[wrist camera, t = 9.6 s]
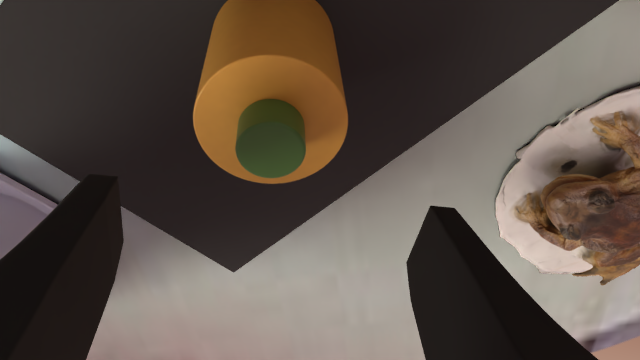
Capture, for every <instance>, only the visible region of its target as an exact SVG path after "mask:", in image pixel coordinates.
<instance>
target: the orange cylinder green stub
mask: <svg viewBox="0 0 640 360" xmlns="http://www.w3.org/2000/svg"><path fill="white" fill-rule="evenodd" d="M193 125H194V129H195V133H196V136H197V139H198V141H199V143H200V145H201V147H202V148H203V150H204V151H205V153H206V154H207V155H208V156H209V157H210V159H211V160H212V161H213V162H214V163H216V164H217V165H218V166H219V167H221V168H222V169H224V170H225V171H227V172H228V173H230V174H232V175H235V176H237V177H239V178H242V179H245V180H248V181H253V182H258V183H268V184H277V183H286V182H292V181H296V180H300V179H302V178H305V177H308V176H310V175H312V174H314V173H315V172H317V171H319V170H320V169H322V168H323V167H324V166H325V165H327V164H328V163H329V162H330V161H331V160H332V159H333V158H334V157H335V155H336V154H337V152H338V151H339V150H340V148H341V146H342V144H343V142H344V139H345V136H346V133H347V128H348V112H347V106H346V100H345V95H344V89H343V83H342V78H341V72H340V66H339V61H338V55H337V49H336V44H335V38H334V32H333V28H332V25H331V22H330V20H329V18H328V16H327V14H326V12H325V11H324V9H323V8H322V7H321V6H320V4H319V3H318V2H317V1H315V0H228V1H227V2H226V3H225V4H224V5H223V6H222V8H221V9H220V11H219V12H218V14H217V16H216V19H215V21H214V24H213V28H212V32H211V36H210V41H209V45H208V49H207V53H206V58H205V62H204V66H203V71H202V75H201V79H200V83H199V88H198V92H197V96H196V100H195V105H194V111H193Z"/></svg>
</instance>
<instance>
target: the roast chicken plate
mask: <svg viewBox="0 0 640 360" xmlns="http://www.w3.org/2000/svg"><path fill="white" fill-rule="evenodd" d="M586 107H587V106H586ZM583 108H584V107H583ZM579 109H581V108H578V109H576V110H574V111H573V113H571V114H570V115H569V116H567V117H565V118H564V119H566V118H568V119H567V120H565V121H563V120H564V119H563V120H562V121H563V122H562V121H560V122H559V124H558V125H557V126H554V127H552V126H549V125H548V126H547V127H545V128H544V129H543V130H542V131H541V132H540V133H539V134H538V135H537V136H536V138H535V139H534V140H533V141H532V142H531V143H530V144H529V145H527V146H525V147H523V148H522V149H521V150H519V151H517V153H516V157H517V158H518V159H520V161H519V162H518V163H517V164H515V165H514V167H513V168H512V169H511V170H510V172H509V173H508V174H507V175H506V177H505V179H504V180H503V182H502V183H503V184H502V186H501V189H500V192H499V194H498V195H497V198H496V201H495V204H496V205H495V206H496V212H495V213H496V219H497V221H498V227H499V232H500V237H501V238H504V239H505V240H506V241H507V242H508V243H510V244H511V245H513V246H514V247H515V248H516V249H517V250H518V252H519V254H520V256H521V257H522V258H524V259H527V260H528V261H529V262H531V263H532V264H534V265H535V267H537V269H538V270H539V273H542V274H545V273H551V274H569V273H575V272H582V273H575V274H572V275H574V276H590V275H599V276H602V277H603V280H602V281H601V282H600V283H601V285H605V284H606V283H608V282H609V281H611V280H613V279H615V278H617V277H618V276H621V275H623V274H625V273H627V272H629V271H630V270H632V269H633V268H636V267H637V266H639V265H640V86H638V87H634V88H631V89H628V90H624V91H622V92H620V93H618V94H613V95H611V96H608V97H607V98H605V99H602V100H600V101H598V102H597V103H594V104H592V105H590V106H589V107H587V108H585V109H582V110H581V111H579V112H578V113H576V111H577V110H579ZM561 122H562V123H561Z"/></svg>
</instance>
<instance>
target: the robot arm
mask: <svg viewBox="0 0 640 360" xmlns="http://www.w3.org/2000/svg"><path fill="white" fill-rule="evenodd" d="M122 246H123V229H122V217H121V206H120V194H119V182H118V176H107V175H97V174H88V175H87V176H85V177H84V178H83V179H82V180H81V181H80V182H79V183H78V184H77V185H76V186H75V188H74V189H73V190H72V191H71V192H70V193H69V194H68V195H67V196H66V197H65V198H64V199H63V200H62V201H61V202H60V203H59V204H56V203H54V202H52V201H50V200H49V199H47V198H45V197H43V196H41V195H40V194H38V193H36V192H34V191H32V190H31V189H29V188H27V187H25V186H23V185H22V184H20V183H18V182H16V181H14V180H13V179H11V178H9V177H7V176H5V175H4V174H2V173H0V360H86V358H87V355H88V353H89V350H90V347H91V344H92V342H93V339H94V336H95V333H96V331H97V328H98V325H99V323H100V320H101V317H102V314H103V312H104V309H105V306H106V303H107V301H108V298H109V295H110V292H111V289H112V287H113V284H114V281H115V276H116V272H117V268H118V264H119V259H120V255H121V250H122ZM407 272H408V281H409V289H410V297H411V303H412V307H413V311H414V315H415V319H416V323H417V327H418V331H419V335H420V339H421V343H422V347H423V350H424V354H425V358H426V360H598V359H597V358H596V357H594V356H593V355H592V354H591V353H590V352H589V351H587V350H586V349H585V348H584V347H583V346H582V345H580V344H579V343H578V342H577V341H576V340H575V339H574V338H573V337H572V336H571V335H569V334H568V333H567V332H566V331H565V330H564V329H563V328H562V327H561V326H560V325H558V324H557V323H556V322H555V321H554V320H553V319H552V318H551V317H550V316H549V315H548V314H547V313H546V312H545V311H544V310H543V309H542V308H541V307H540V306H539V305H538V304H537V303H536V302H535V301H534V300H533V298H532V297H531V296H530V295H529V294H528V293H527V292H526V291H525V290H524V289H523V288H522V287H521V286H520V285H519V284H518V282H517V281H516V280H515V279H514V278H513V277H512V276H511V275H510V273H509V272H508V271H507V270H506V269H505V268H504V267H503V265H502V264H501V263H500V262H499V261H498V260H497V258H496V257H495V256H494V255H493V254H492V253H491V251H490V250H489V249H488V248H487V247H486V245H485V244H484V243H483V242H482V240H481V239H480V238H479V237H478V236H477V234H476V233H475V232H474V231H473V230H472V228H471V227H470V226H469V225H468V223H467V222H466V221H465V220H464V219H463V217H462V216H461V215H460V214H459V213H458V212H457V211H456V209H455V208H449V207H438V206H430V208H429V210H428V213H427V215H426V217H425V220H424V222H423V224H422V227H421V229H420V232H419V234H418V236H417V239H416V241H415V243H414V246H413V248H412V251H411V253H410V255H409V258H408V260H407Z"/></svg>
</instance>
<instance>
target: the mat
mask: <svg viewBox="0 0 640 360" xmlns="http://www.w3.org/2000/svg"><path fill="white" fill-rule="evenodd" d="M227 1H228V0H4V1H3V2H2V4H1V5H0V134H1V135H3V136H4V137H6V138H8V139H9V140H11V141H13V142H14V143H16V144H18V145H19V146H21V147H23V148H24V149H26V150H28V151H30V152H31V153H33V154H35V155H36V156H38V157H40V158H41V159H43V160H45V161H46V162H48V163H50V164H51V165H53V166H55V167H57V168H58V169H60V170H62V171H63V172H65V173H67V174H68V175H70V176H72V177H73V178H75V179H77V180H78V181H81V180H82V179H83V178H84V177H85V176H87V175H88V174H97V175H107V176H118V182H119V194H120V205H121V206H122V207H124V208H126V209H127V210H129V211H131V212H132V213H134V214H136V215H137V216H139V217H141V218H143V219H144V220H146V221H148V222H149V223H151V224H153V225H154V226H156V227H158V228H159V229H161V230H163V231H164V232H166V233H168V234H170V235H171V236H173V237H175V238H176V239H178V240H180V241H181V242H183V243H185V244H186V245H188V246H190V247H191V248H193V249H195V250H197V251H198V252H200V253H202V254H203V255H205V256H207V257H208V258H210V259H212V260H213V261H215V262H217V263H218V264H220V265H222V266H224V267H225V268H227V269H229V270H230V271H232V272H235V271H236V270H238V269H239V268H241V267H242V266H243V265H245V264H246V263H248V262H249V261H251V260H252V259H253V258H255V257H256V256H258V255H259V254H260V253H262V252H263V251H265V250H266V249H268V248H269V247H270V246H272V245H273V244H275V243H276V242H277V241H279V240H280V239H282V238H283V237H285V236H286V235H287V234H289V233H290V232H292V231H293V230H294V229H296V228H297V227H299V226H300V225H302V224H303V223H304V222H306V221H307V220H309V219H310V218H311V217H313V216H314V215H316V214H317V213H318V212H320V211H321V210H323V209H324V208H326V207H327V206H328V205H330V204H331V203H333V202H334V201H335V200H337V199H338V198H340V197H341V196H343V195H344V194H345V193H347V192H348V191H350V190H351V189H352V188H354V187H355V186H357V185H358V184H360V183H361V182H362V181H364V180H365V179H367V178H368V177H369V176H371V175H372V174H374V173H375V172H377V171H378V170H379V169H381V168H382V167H384V166H385V165H386V164H388V163H389V162H391V161H392V160H393V159H395V158H396V157H398V156H399V155H401V154H402V153H403V152H405V151H406V150H408V149H409V148H410V147H412V146H413V145H415V144H416V143H418V142H419V141H420V140H422V139H423V138H425V137H426V136H427V135H429V134H430V133H432V132H433V131H435V130H436V129H437V128H439V127H440V126H442V125H443V124H444V123H446V122H447V121H449V120H450V119H452V118H453V117H454V116H456V115H457V114H459V113H460V112H461V111H463V110H464V109H466V108H467V107H468V106H470V105H471V104H473V103H474V102H476V101H477V100H478V99H480V98H481V97H483V96H484V95H485V94H487V93H488V92H490V91H491V90H493V89H494V88H495V87H497V86H498V85H500V84H501V83H502V82H504V81H505V80H507V79H508V78H510V77H511V76H512V75H514V74H515V73H517V72H518V71H519V70H521V69H522V68H524V67H525V66H527V65H528V64H529V63H531V62H532V61H534V60H535V59H536V58H538V57H539V56H541V55H542V54H544V53H545V52H546V51H548V50H549V49H551V48H552V47H553V46H555V45H556V44H558V43H559V42H560V41H562V40H563V39H565V38H566V37H568V36H569V35H570V34H572V33H573V32H575V31H576V30H577V29H579V28H580V27H582V26H583V25H585V24H586V23H587V22H589V21H590V20H592V19H593V18H594V17H596V16H597V15H599V14H600V13H602V12H603V11H604V10H606V9H607V8H609V7H610V6H611V5H613V4H614V3H616V2H617V1H619V0H315V1H317V2H318V3H319V4H320V6H321V7H322V8H323V9H324V11H325V12H326V14H327V16H328V18H329V20H330V22H331V25H332V28H333V32H334V38H335V44H336V49H337V55H338V61H339V66H340V72H341V78H342V83H343V89H344V95H345V100H346V106H347V112H348V128H347V133H346V136H345V139H344V142H343V144H342V146H341V148H340V150H339V151H338V152H337V154H336V155H335V157H334V158H333V159H332V160H331V161H330V162H329V163H328V164H327V165H325V166H324V167H323V168H322V169H320V170H319V171H317V172H315V173H314V174H312V175H310V176H308V177H305V178H302V179H300V180H296V181H292V182H286V183H277V184H268V183H258V182H253V181H248V180H245V179H242V178H239V177H237V176H235V175H232V174H230V173H228V172H227V171H225V170H224V169H222V168H221V167H219V166H218V165H217V164H216V163H214V162H213V161H212V160H211V159H210V157H209V156H208V155H207V154H206V153H205V151H204V150H203V148H202V147H201V145H200V143H199V141H198V139H197V136H196V133H195V129H194V125H193V111H194V105H195V100H196V96H197V92H198V88H199V83H200V79H201V75H202V71H203V66H204V62H205V58H206V53H207V49H208V45H209V41H210V36H211V32H212V28H213V24H214V21H215V19H216V16H217V14H218V12H219V11H220V9H221V8H222V6H223V5H224V4H225V3H226V2H227Z"/></svg>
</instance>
